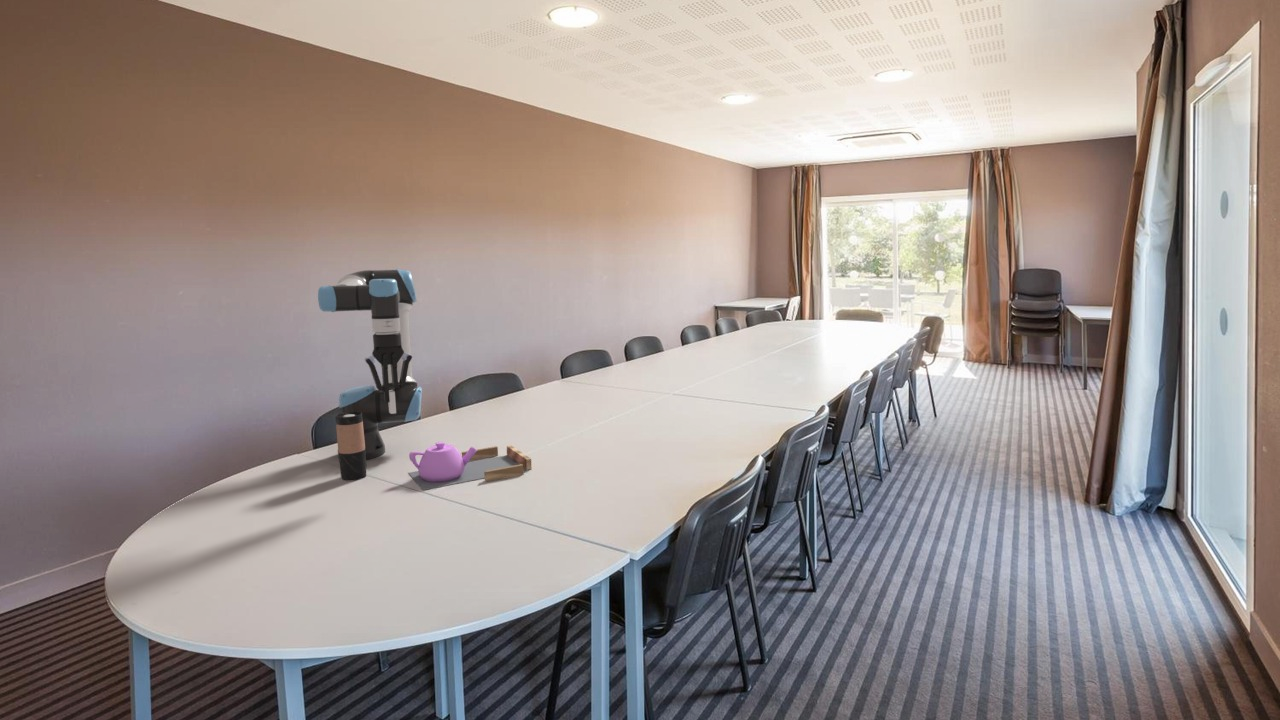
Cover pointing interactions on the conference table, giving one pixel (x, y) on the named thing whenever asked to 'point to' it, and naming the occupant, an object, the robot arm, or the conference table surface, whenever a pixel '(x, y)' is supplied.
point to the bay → (505, 471)
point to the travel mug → (351, 446)
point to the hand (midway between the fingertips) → (392, 412)
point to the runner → (468, 472)
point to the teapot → (441, 462)
